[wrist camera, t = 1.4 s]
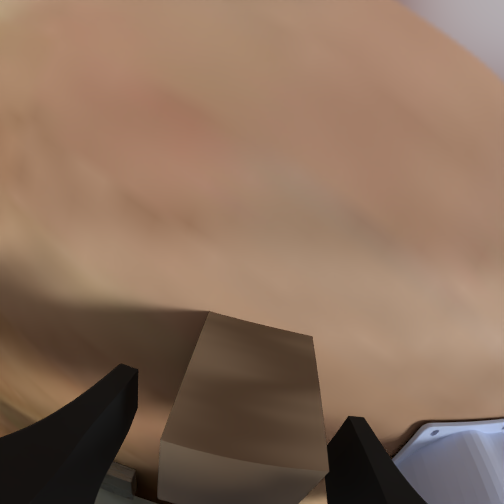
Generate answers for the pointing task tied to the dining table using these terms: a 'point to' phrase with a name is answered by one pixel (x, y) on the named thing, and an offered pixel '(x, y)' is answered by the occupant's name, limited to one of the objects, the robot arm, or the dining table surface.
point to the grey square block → (120, 481)
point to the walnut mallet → (245, 419)
